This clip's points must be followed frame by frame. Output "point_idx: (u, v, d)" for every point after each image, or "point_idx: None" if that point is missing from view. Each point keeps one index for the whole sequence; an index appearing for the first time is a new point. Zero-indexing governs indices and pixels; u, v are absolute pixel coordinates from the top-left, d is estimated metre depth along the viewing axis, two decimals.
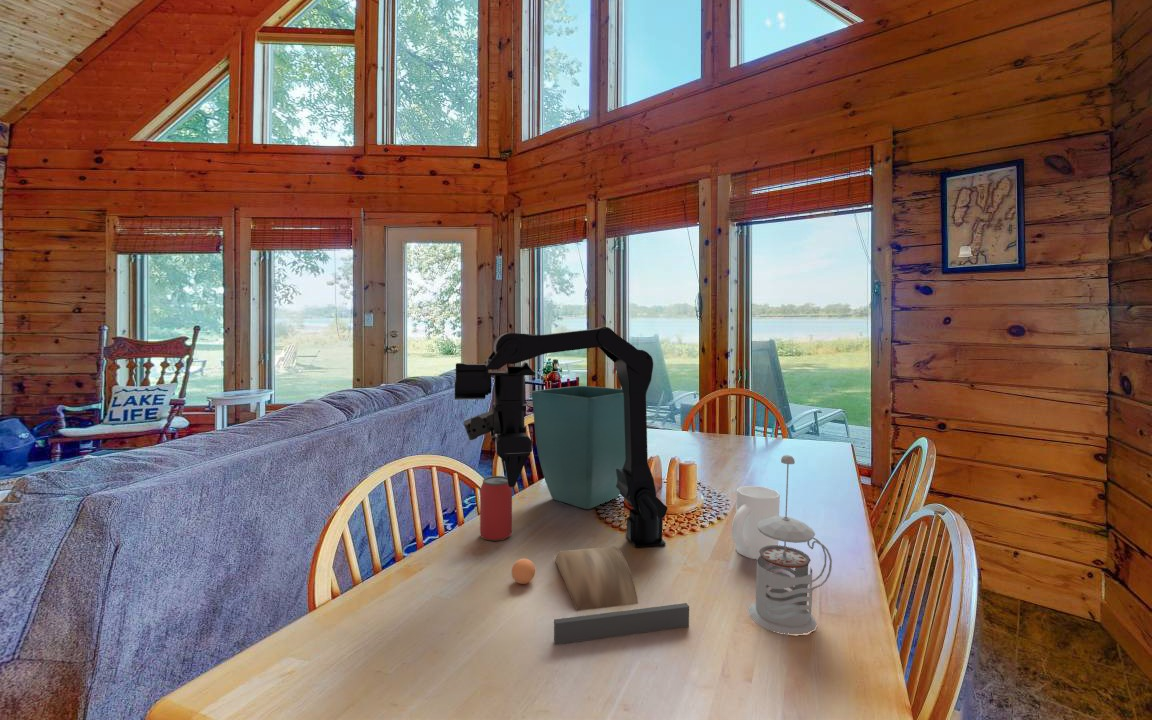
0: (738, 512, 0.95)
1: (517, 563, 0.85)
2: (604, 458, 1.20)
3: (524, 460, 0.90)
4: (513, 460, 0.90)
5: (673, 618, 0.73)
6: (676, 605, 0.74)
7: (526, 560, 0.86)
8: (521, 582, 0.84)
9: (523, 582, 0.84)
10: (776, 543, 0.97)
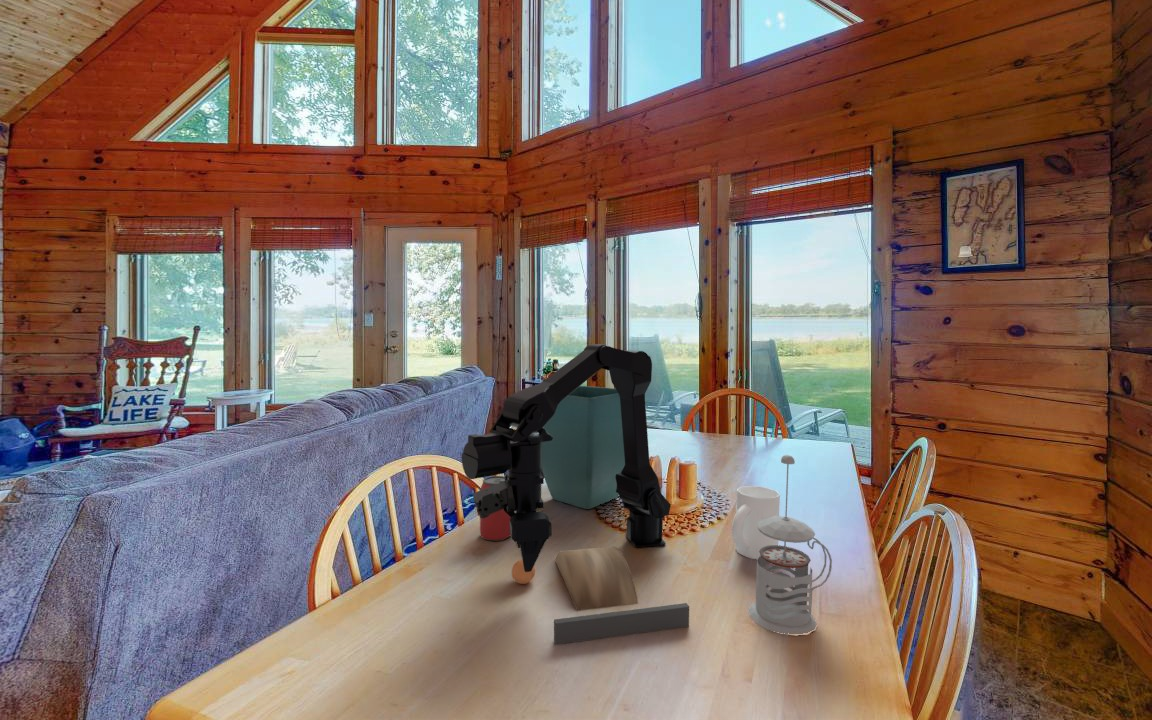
0: (738, 512, 0.95)
1: (517, 563, 0.85)
2: (604, 458, 1.20)
3: (542, 543, 0.80)
4: (530, 543, 0.80)
5: (673, 618, 0.73)
6: (676, 605, 0.74)
7: None
8: (521, 582, 0.84)
9: (523, 582, 0.84)
10: (776, 543, 0.97)
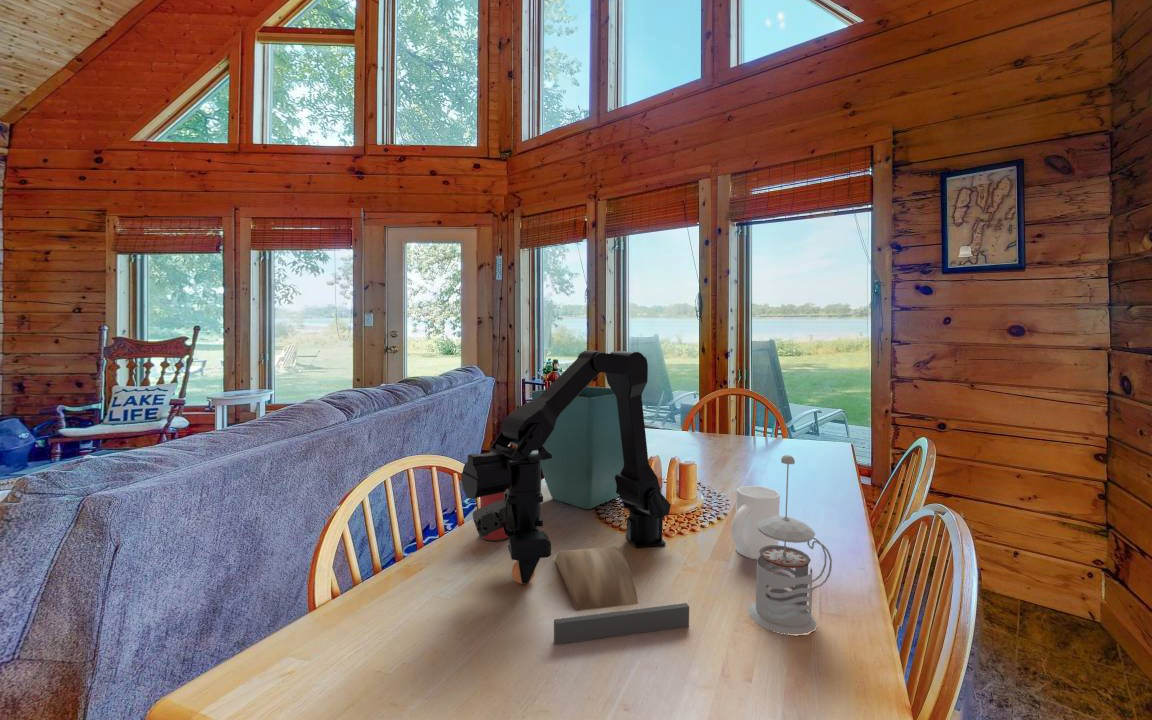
0: (738, 512, 0.95)
1: (517, 563, 0.85)
2: (604, 458, 1.20)
3: None
4: None
5: (673, 618, 0.73)
6: (676, 605, 0.74)
7: None
8: (521, 582, 0.84)
9: None
10: (776, 543, 0.97)
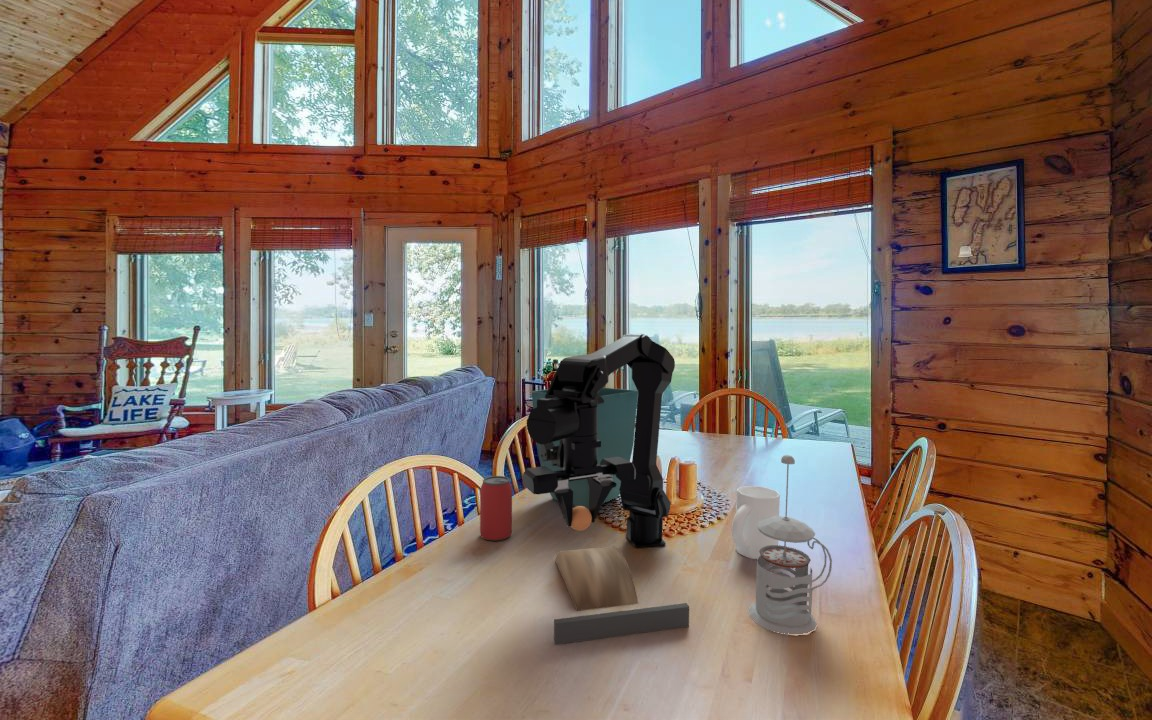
0: (738, 512, 0.95)
1: (575, 507, 0.85)
2: None
3: None
4: None
5: (673, 618, 0.73)
6: (676, 605, 0.74)
7: (580, 508, 0.84)
8: None
9: (571, 526, 0.84)
10: (776, 543, 0.97)
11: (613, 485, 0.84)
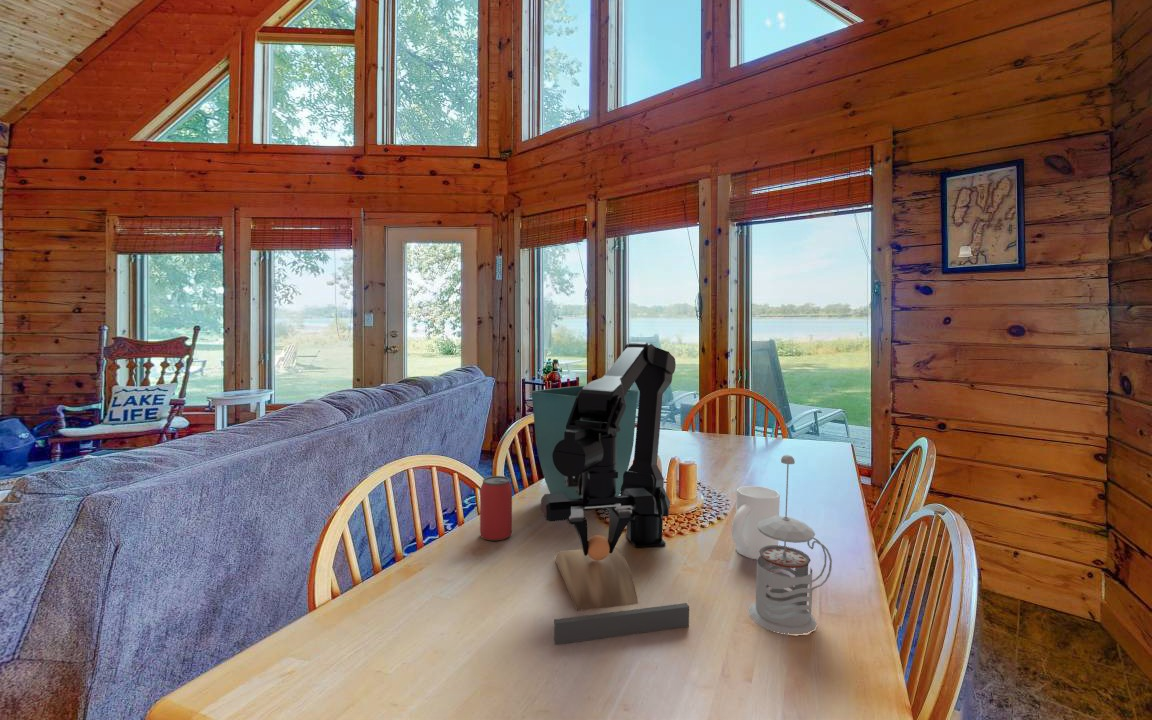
0: (738, 512, 0.95)
1: (594, 536, 0.85)
2: None
3: (578, 529, 0.81)
4: None
5: (673, 618, 0.73)
6: (676, 605, 0.74)
7: (597, 538, 0.84)
8: None
9: (588, 555, 0.84)
10: (776, 543, 0.97)
11: (631, 517, 0.82)
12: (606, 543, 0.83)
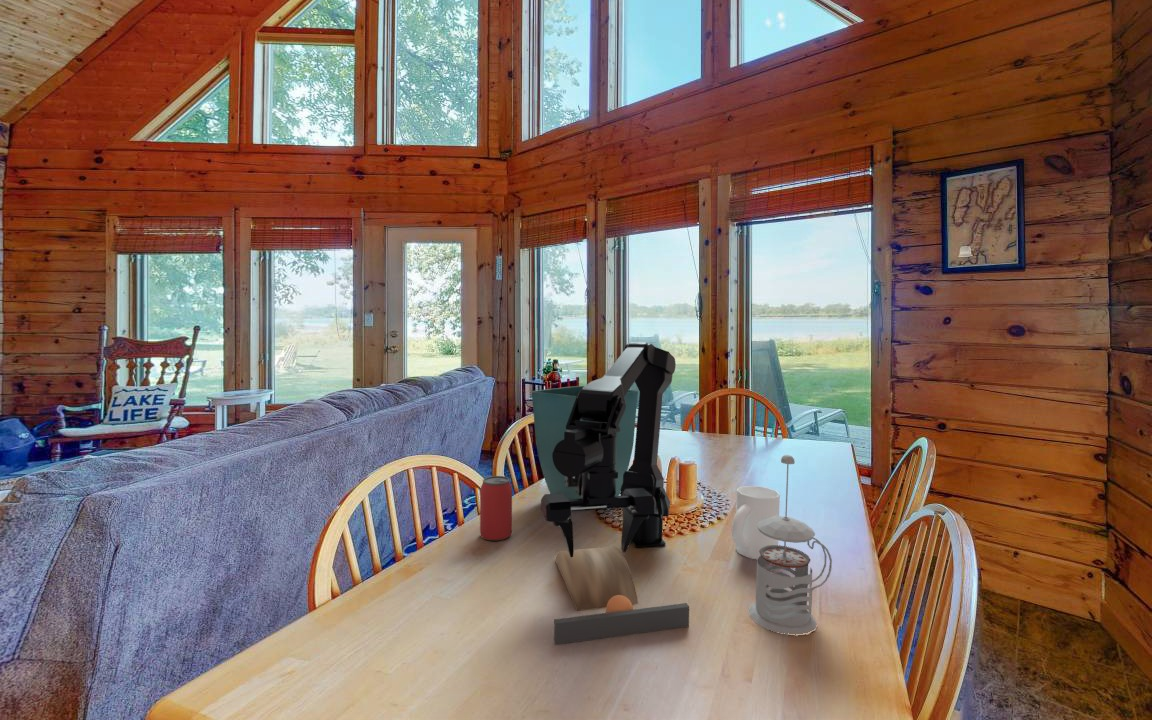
0: (738, 512, 0.95)
1: (616, 595, 0.75)
2: None
3: (563, 531, 0.81)
4: None
5: (673, 618, 0.73)
6: (676, 605, 0.74)
7: (621, 599, 0.73)
8: None
9: None
10: (776, 543, 0.97)
11: (644, 517, 0.83)
12: (630, 606, 0.73)
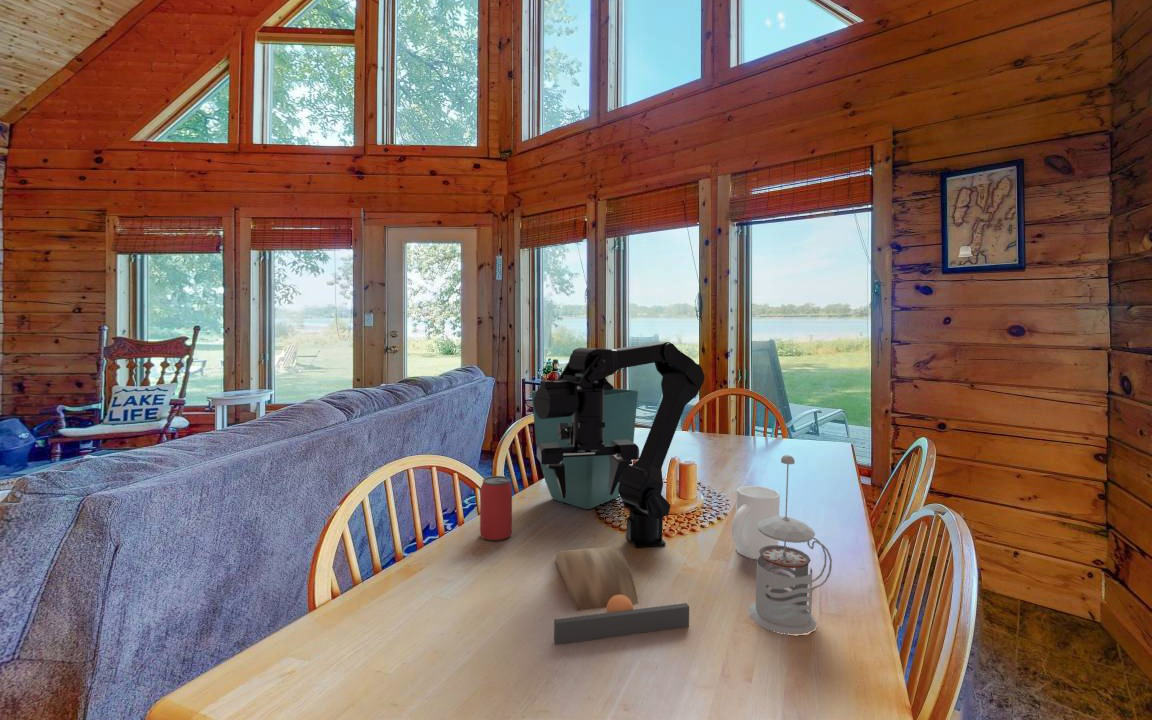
0: (738, 512, 0.95)
1: (617, 595, 0.75)
2: (604, 458, 1.20)
3: None
4: None
5: (673, 618, 0.73)
6: (676, 605, 0.74)
7: (621, 598, 0.74)
8: None
9: None
10: (776, 543, 0.97)
11: (629, 462, 0.93)
12: (630, 606, 0.73)
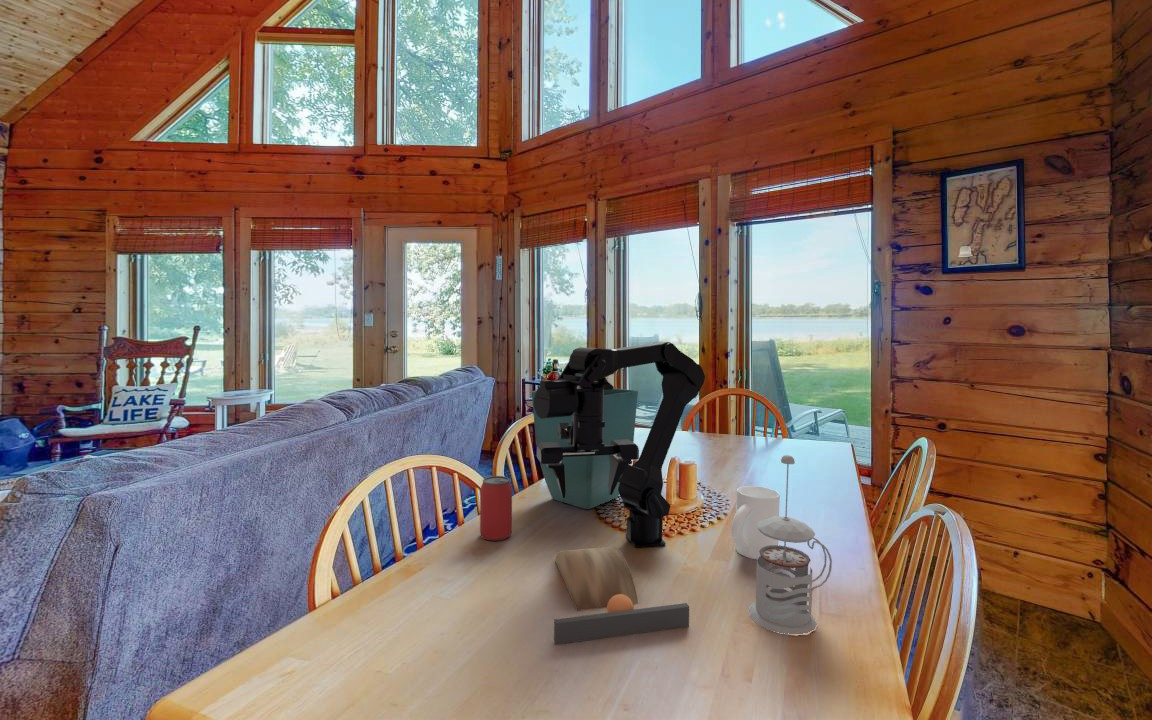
0: (738, 512, 0.95)
1: None
2: (604, 458, 1.20)
3: (556, 473, 0.91)
4: None
5: (673, 618, 0.73)
6: (676, 605, 0.74)
7: (622, 597, 0.74)
8: None
9: None
10: (776, 543, 0.97)
11: (628, 462, 0.93)
12: (631, 605, 0.73)
